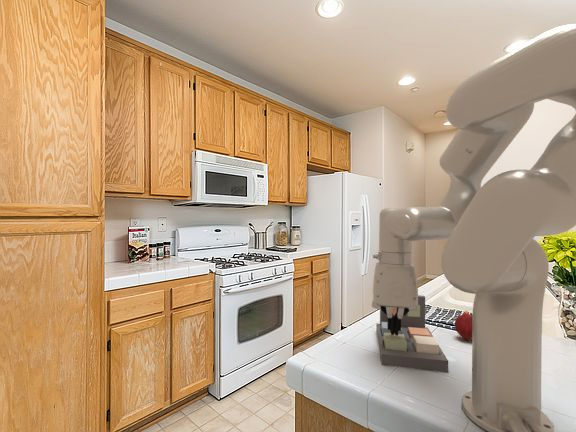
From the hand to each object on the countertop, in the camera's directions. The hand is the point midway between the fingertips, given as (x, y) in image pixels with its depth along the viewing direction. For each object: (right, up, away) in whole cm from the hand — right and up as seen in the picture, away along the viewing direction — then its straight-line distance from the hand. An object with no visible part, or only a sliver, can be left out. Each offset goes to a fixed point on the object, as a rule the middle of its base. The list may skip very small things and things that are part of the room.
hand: (394, 332), depth 74 cm
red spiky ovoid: (+23, -6, +9) cm, 26 cm away
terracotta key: (+9, -4, +6) cm, 11 cm away
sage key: (0, -4, 0) cm, 4 cm away
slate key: (+2, -3, +8) cm, 8 cm away
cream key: (+7, -4, -2) cm, 8 cm away
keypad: (+5, -6, +3) cm, 8 cm away
